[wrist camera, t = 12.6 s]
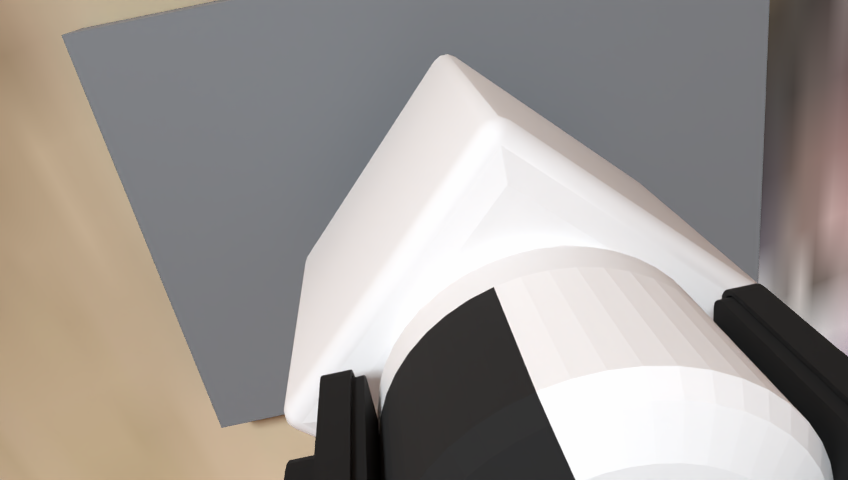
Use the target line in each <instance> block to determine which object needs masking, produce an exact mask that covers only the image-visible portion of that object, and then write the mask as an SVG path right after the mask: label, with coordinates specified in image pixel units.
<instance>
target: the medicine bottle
mask: <svg viewBox="0 0 848 480" xmlns="http://www.w3.org/2000/svg"><path fill="white" fill-rule="evenodd" d="M755 283H757V282H756V281H754V280H753V279H752V278H751V277H750V276H748V275H747V274H746V273H745V272H744V271H743V270H741V269H740V268H739V267H738V266H737V265H735V264H734V263H733V262H732V261H731V260H730V259H728V258H727V257H726V256H725V255H724V254H723V253H721V252H720V251H719V250H718V249H717V248H715V247H714V246H713V245H712V244H711V243H710V242H708V241H707V240H706V239H705V238H704V237H703V236H701V235H700V234H699V233H698V232H697V231H695V230H694V229H693V228H692V227H691V226H690V225H688V224H687V223H686V222H685V221H684V220H683V219H681V218H680V217H679V216H678V215H677V214H675V213H674V212H673V211H672V210H671V209H670V208H668V207H667V206H666V205H665V204H664V203H662V202H661V201H660V200H659V199H658V198H657V197H655V196H654V195H653V194H652V193H651V192H650V191H648V190H647V189H646V188H645V187H644V186H642V185H641V184H640V183H639V182H637V181H636V180H634V179H633V178H632V177H630V176H629V175H627V174H626V173H624V172H623V171H621V170H620V169H618V168H617V167H615V166H614V165H612V164H611V163H610V162H608V161H607V160H605V159H604V158H602V157H601V156H599V155H598V154H596V153H595V152H593V151H592V150H591V149H589V148H588V147H586V146H585V145H583V144H582V143H580V142H579V141H577V140H576V139H574V138H573V137H572V136H570V135H569V134H567V133H566V132H564V131H563V130H561V129H560V128H558V127H557V126H555V125H554V124H553V123H551V122H550V121H548V120H547V119H545V118H544V117H542V116H541V115H539V114H538V113H536V112H535V111H534V110H532V109H531V108H529V107H528V106H526V105H525V104H523V103H522V102H520V101H519V100H517V99H516V98H515V97H513V96H512V95H510V94H509V93H507V92H506V91H504V90H503V89H501V88H500V87H498V86H497V85H495V84H494V83H493V82H491V81H490V80H488V79H487V78H485V77H484V76H482V75H481V74H479V73H478V72H476V71H475V70H474V69H472V68H471V67H469V66H468V65H466V64H465V63H463V62H462V61H460V60H459V59H457V58H456V57H454V56H451V55H449V54H446V55H441V56H439V57H438V58H437V59H436V60H435V61H434V62H433V64H432V65H431V67H430V68H429V70H428V71H427V73H426V74H425V76H424V78H423V79H422V81H421V82H420V84H419V85H418V87H417V88H416V90H415V91H414V93H413V95H412V96H411V98H410V99H409V101H408V102H407V104H406V105H405V107H404V108H403V110H402V111H401V113H400V115H399V116H398V118H397V119H396V121H395V122H394V124H393V125H392V127H391V128H390V130H389V132H388V133H387V135H386V136H385V138H384V139H383V141H382V142H381V144H380V145H379V147H378V149H377V150H376V152H375V153H374V155H373V156H372V158H371V159H370V161H369V162H368V164H367V166H366V167H365V169H364V170H363V172H362V173H361V175H360V176H359V178H358V179H357V181H356V182H355V184H354V186H353V187H352V189H351V190H350V192H349V193H348V195H347V196H346V198H345V199H344V201H343V203H342V204H341V206H340V207H339V209H338V210H337V212H336V213H335V215H334V216H333V218H332V220H331V221H330V223H329V224H328V226H327V227H326V229H325V230H324V232H323V233H322V235H321V237H320V238H319V240H318V241H317V243H316V244H315V246H314V247H313V249H312V250H311V252H310V253H309V255H308V257H307V259H306V263H305V269H304V276H303V283H302V290H301V297H300V303H299V310H298V317H297V324H296V330H295V337H294V344H293V351H292V357H291V364H290V371H289V378H288V384H287V391H286V398H285V405H284V413H285V417H286V419H287V422H288V424H290V425H291V426H292V427H294V428H295V429H298V430H300V431H302V432H305V433H307V434H309V435H312V436H314V437H316V427H317V414H318V400H319V387H320V377H321V376H322V375H327V374H332V373H337V372H341V371H346V370H353V373H354V375H355V377H358V376H362V375H365V376H366V378H367V381H368V385H369V389H370V392H371V396H372V400H373V403H374V407H375V411H376V414H377V418H378V430H379V449H380V469H381V480H833V474H832V469H831V463H830V460H829V458H828V455H827V453H826V450H825V448H824V445H823V443H822V441H821V439H820V438H819V436H818V435H817V433H816V432H815V430H814V429H813V427H812V426H811V425H810V423H809V422H808V421H807V420H806V419H805V417H804V416H803V415H802V414H801V413H800V412H799V411H798V410H797V409H796V408H795V407H794V406H793V405H792V404H791V403H790V402H789V401H788V399H787V398H786V397H785V396H784V395H783V394H782V393H781V392H780V391H779V390H778V389H777V388H776V387H775V386H774V385H773V384H772V383H771V381H770V380H769V379H768V378H767V377H766V376H765V375H764V374H763V373H762V372H761V371H760V370H759V369H758V368H757V367H756V366H755V365H754V363H753V362H752V361H751V360H750V359H749V358H748V357H747V356H746V355H745V354H744V353H743V352H742V351H741V350H740V349H739V348H738V347H737V345H736V344H735V343H734V342H733V341H732V340H731V339H730V338H729V337H728V336H727V335H726V334H725V333H724V332H723V331H722V330H721V329H720V327H719V326H718V325H717V324H716V323H715V322H714V321H713V315H714V303H715V301H717V300H720V299H722V294H723V292H724V291H725V290H727V289H732V288H736V287H741V286H746V285H751V284H755ZM757 284H758V283H757Z"/></svg>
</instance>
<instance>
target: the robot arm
mask: <svg viewBox="0 0 848 480" xmlns="http://www.w3.org/2000/svg"><path fill="white" fill-rule="evenodd" d="M713 321H714V322H715V323H716V324H717V325H718V326H719V327H720V329H721V330H722V331H723V332H724V333H725V334H726V335H727V336H728V337H729V338H730V339H731V340H732V341H733V342H734V343H735V344H736V345H737V347H738V348H739V349H740V350H741V351H742V352H743V353H744V354H745V355H746V356H747V357H748V358H749V359H750V360H751V361H752V362H753V363H754V365H755V366H756V367H757V368H758V369H759V370H760V371H761V372H762V373H763V374H764V375H765V376H766V377H767V378H768V379H769V380H770V381H771V383H772V384H773V385H774V386H775V387H776V388H777V389H778V390H779V391H780V392H781V393H782V394H783V395H784V396H785V397H786V398H787V399H788V401H789V402H790V403H791V404H792V405H793V406H794V407H795V408H796V409H797V410H798V411H799V412H800V413H801V414H802V415H803V416H804V417H805V419H806V420H807V421H808V422H809V423H810V425H811V426H812V427H813V429H814V430H815V432H816V433H817V435H818V436H819V438H820V439H821V441H822V443H823V445H824V448H825V450H826V453H827V455H828V458H829V460H830V463H831V469H832V474H833V480H848V356H847V355H845V354H844V353H843V352H842V351H840V350H839V349H838V348H836V347H835V346H834V345H833V344H832V343H831V342H829V341H828V340H827V339H826V338H825V337H823V336H822V335H821V334H820V333H819V332H818V331H816V330H815V329H814V328H813V327H812V326H810V325H809V324H808V323H807V322H806V321H804V320H803V319H802V318H801V317H800V316H799V315H797V314H796V313H795V312H794V311H793V310H791V309H790V308H789V307H788V306H787V305H786V304H784V303H783V302H782V301H781V300H780V299H778V298H777V297H776V296H775V295H774V294H772V293H771V292H770V291H769V290H768V289H767V288H765V287H764V286H763V285H761V284H757V283H755V284H751V285H746V286H741V287H736V288H732V289H727V290H725V291H724V292H723V294H722V299H720V300H717V301H715V303H714V315H713ZM284 480H381V469H380V449H379V430H378V418H377V414H376V411H375V407H374V403H373V400H372V396H371V392H370V389H369V385H368V381H367V378H366V376H365V375H362V376H358V377H355V375H354V373H353V370H346V371H341V372H337V373H332V374H327V375H322V376H321V377H320V387H319V400H318V414H317V427H316V440H315V454H314V455H313V456H308V457H303V458H299V459H294V460H289V462H288V463H287V465H286V470H285V477H284Z"/></svg>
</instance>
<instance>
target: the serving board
mask: <svg viewBox="0 0 848 480" xmlns="http://www.w3.org/2000/svg"><path fill="white" fill-rule="evenodd" d="M768 24H769V0H218V1H214V2H209V3H204V4H199V5H194V6H189V7H184V8H179V9H175V10H170V11H165V12H160V13H155V14H150V15H145V16H140V17H136V18H131V19H126V20H121V21H116V22H111V23H106V24H101V25H97V26H92V27H87V28H82V29H79V30H76V31H73V32H70V33H67V34H64V35H62V38H63V40H64V43H65V45H66V48H67V50H68V52H69V55H70V57H71V60H72V62H73V65H74V67H75V70H76V72H77V74H78V77H79V79H80V82H81V84H82V87H83V89H84V92H85V94H86V97H87V99H88V101H89V104H90V106H91V109H92V111H93V114H94V116H95V119H96V121H97V123H98V126H99V128H100V131H101V133H102V136H103V138H104V141H105V143H106V146H107V148H108V150H109V153H110V155H111V158H112V160H113V163H114V165H115V168H116V170H117V172H118V175H119V177H120V180H121V182H122V185H123V187H124V190H125V192H126V194H127V197H128V199H129V202H130V204H131V207H132V209H133V212H134V214H135V217H136V219H137V221H138V224H139V226H140V229H141V231H142V234H143V236H144V239H145V241H146V243H147V246H148V248H149V251H150V253H151V256H152V258H153V261H154V263H155V265H156V268H157V270H158V273H159V275H160V278H161V280H162V283H163V285H164V288H165V290H166V292H167V295H168V297H169V300H170V302H171V305H172V307H173V310H174V312H175V314H176V317H177V319H178V322H179V324H180V327H181V329H182V332H183V334H184V337H185V339H186V341H187V344H188V346H189V349H190V351H191V354H192V356H193V359H194V361H195V363H196V366H197V368H198V371H199V373H200V376H201V378H202V381H203V383H204V385H205V388H206V390H207V393H208V395H209V398H210V400H211V403H212V405H213V408H214V410H215V412H216V415H217V417H218V420H219V422H220V425H221V427H222V428H223V427H227V426H232V425H237V424H242V423H246V422H251V421H256V420H260V419H265V418H270V417H274V416H279V415H284V414H285V413H284V405H285V398H286V391H287V384H288V378H289V371H290V364H291V357H292V351H293V344H294V337H295V330H296V324H297V317H298V310H299V303H300V297H301V290H302V283H303V276H304V269H305V263H306V259H307V257H308V255H309V253H310V252H311V250H312V249H313V247H314V246H315V244H316V243H317V241H318V240H319V238H320V237H321V235H322V233H323V232H324V230H325V229H326V227H327V226H328V224H329V223H330V221H331V220H332V218H333V216H334V215H335V213H336V212H337V210H338V209H339V207H340V206H341V204H342V203H343V201H344V199H345V198H346V196H347V195H348V193H349V192H350V190H351V189H352V187H353V186H354V184H355V182H356V181H357V179H358V178H359V176H360V175H361V173H362V172H363V170H364V169H365V167H366V166H367V164H368V162H369V161H370V159H371V158H372V156H373V155H374V153H375V152H376V150H377V149H378V147H379V145H380V144H381V142H382V141H383V139H384V138H385V136H386V135H387V133H388V132H389V130H390V128H391V127H392V125H393V124H394V122H395V121H396V119H397V118H398V116H399V115H400V113H401V111H402V110H403V108H404V107H405V105H406V104H407V102H408V101H409V99H410V98H411V96H412V95H413V93H414V91H415V90H416V88H417V87H418V85H419V84H420V82H421V81H422V79H423V78H424V76H425V74H426V73H427V71H428V70H429V68H430V67H431V65H432V64H433V62H434V61H435V60H436V59H437V58H438V57H439V56H441V55H446V54H449V55H451V56H454V57H456V58H457V59H459V60H460V61H462V62H463V63H465V64H466V65H468V66H469V67H471V68H472V69H474V70H475V71H476V72H478V73H479V74H481V75H482V76H484V77H485V78H487V79H488V80H490V81H491V82H493V83H494V84H495V85H497V86H498V87H500V88H501V89H503V90H504V91H506V92H507V93H509V94H510V95H512V96H513V97H515V98H516V99H517V100H519V101H520V102H522V103H523V104H525V105H526V106H528V107H529V108H531V109H532V110H534V111H535V112H536V113H538V114H539V115H541V116H542V117H544V118H545V119H547V120H548V121H550V122H551V123H553V124H554V125H555V126H557V127H558V128H560V129H561V130H563V131H564V132H566V133H567V134H569V135H570V136H572V137H573V138H574V139H576V140H577V141H579V142H580V143H582V144H583V145H585V146H586V147H588V148H589V149H591V150H592V151H593V152H595V153H596V154H598V155H599V156H601V157H602V158H604V159H605V160H607V161H608V162H610V163H611V164H612V165H614V166H615V167H617V168H618V169H620V170H621V171H623V172H624V173H626V174H627V175H629V176H630V177H632V178H633V179H634V180H636V181H637V182H639V183H640V184H641V185H642V186H644V187H645V188H646V189H647V190H648V191H650V192H651V193H652V194H653V195H654V196H655V197H657V198H658V199H659V200H660V201H661V202H662V203H664V204H665V205H666V206H667V207H668V208H670V209H671V210H672V211H673V212H674V213H675V214H677V215H678V216H679V217H680V218H681V219H683V220H684V221H685V222H686V223H687V224H688V225H690V226H691V227H692V228H693V229H694V230H695V231H697V232H698V233H699V234H700V235H701V236H703V237H704V238H705V239H706V240H707V241H708V242H710V243H711V244H712V245H713V246H714V247H715V248H717V249H718V250H719V251H720V252H721V253H723V254H724V255H725V256H726V257H727V258H728V259H730V260H731V261H732V262H733V263H734V264H735V265H737V266H738V267H739V268H740V269H741V270H743V271H744V272H745V273H746V274H747V275H748V276H750V277H751V278H752V279H753V280H754V281H756V282H757V283H758V269H759V245H760V220H761V196H762V171H763V146H764V122H765V97H766V73H767V48H768Z"/></svg>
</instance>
